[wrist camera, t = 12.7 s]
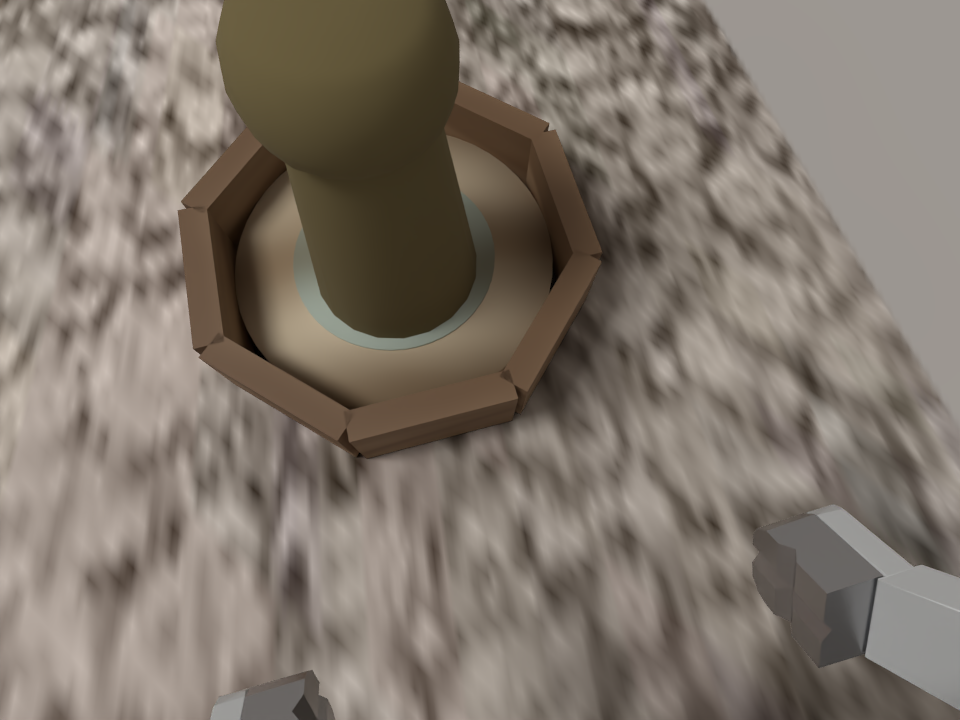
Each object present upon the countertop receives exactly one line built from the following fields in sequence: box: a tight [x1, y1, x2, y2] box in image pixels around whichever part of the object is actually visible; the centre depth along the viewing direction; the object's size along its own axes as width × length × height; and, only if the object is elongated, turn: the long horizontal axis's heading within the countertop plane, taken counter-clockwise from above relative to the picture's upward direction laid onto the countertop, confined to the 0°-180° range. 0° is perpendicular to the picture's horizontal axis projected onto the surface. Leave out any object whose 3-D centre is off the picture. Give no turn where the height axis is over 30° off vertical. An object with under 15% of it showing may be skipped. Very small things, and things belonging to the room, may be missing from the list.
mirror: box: [178, 82, 602, 459], centre depth 21 cm, size 14×14×3 cm
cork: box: [216, 0, 477, 339], centre depth 16 cm, size 6×6×11 cm
